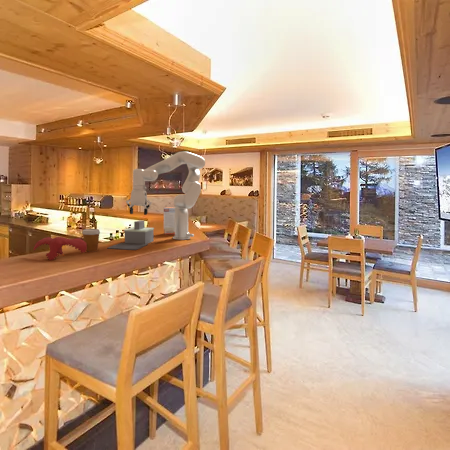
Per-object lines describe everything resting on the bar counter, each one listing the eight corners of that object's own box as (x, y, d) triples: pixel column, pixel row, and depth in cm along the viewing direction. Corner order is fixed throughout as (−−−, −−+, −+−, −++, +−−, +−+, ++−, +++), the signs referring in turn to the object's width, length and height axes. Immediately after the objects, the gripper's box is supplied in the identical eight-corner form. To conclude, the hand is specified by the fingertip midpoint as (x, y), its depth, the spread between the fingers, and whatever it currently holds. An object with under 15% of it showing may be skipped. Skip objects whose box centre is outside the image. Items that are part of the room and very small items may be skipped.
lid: (154, 230, 225) (154, 220, 224) (145, 233, 211) (145, 222, 210) (133, 229, 227) (133, 219, 226) (124, 232, 213) (123, 221, 212)
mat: (147, 244, 210) (147, 244, 210) (135, 250, 193) (135, 249, 193) (121, 243, 213) (121, 242, 213) (106, 248, 196) (106, 247, 196)
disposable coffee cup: (99, 252, 185) (99, 230, 184) (81, 252, 183) (80, 231, 181) (101, 248, 194) (100, 228, 193) (83, 249, 192) (83, 228, 190)
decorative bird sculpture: (83, 268, 167) (92, 243, 176) (75, 258, 159) (85, 233, 168) (30, 265, 169) (41, 241, 178) (20, 256, 162) (33, 231, 170)
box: (153, 240, 226) (153, 229, 225) (145, 244, 212) (145, 232, 211) (134, 239, 228) (134, 228, 227) (124, 243, 214) (124, 231, 213)
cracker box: (183, 233, 261) (183, 207, 258) (181, 235, 255) (181, 208, 252) (165, 233, 262) (165, 206, 260) (163, 234, 256) (163, 207, 254)
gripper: (153, 188, 218) (153, 214, 220) (129, 187, 220) (128, 213, 222) (149, 188, 210) (148, 215, 212) (123, 187, 213) (123, 214, 215)
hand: (138, 214), depth 217 cm, fingers open, 9 cm apart
